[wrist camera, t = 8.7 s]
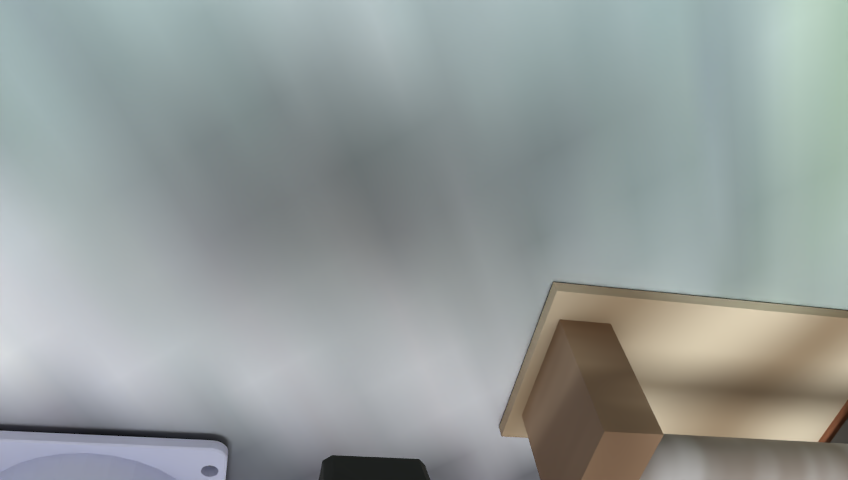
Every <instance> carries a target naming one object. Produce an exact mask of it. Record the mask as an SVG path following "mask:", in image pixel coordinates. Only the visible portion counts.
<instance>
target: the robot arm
mask: <svg viewBox="0 0 848 480" xmlns="http://www.w3.org/2000/svg"><path fill="white" fill-rule="evenodd" d="M227 459H228V448H227V447H226V446H225V445H224V444H223V443H221V442H219V441H214V440H195V439H173V438H152V437H130V436H108V435H86V434H64V433H43V432H21V431H0V480H225V479H226V469H227ZM209 465H211V466H209ZM319 480H430V478H429V475H428V473H427V470H426V467H425V465H424V464H423V463H422V462H421V461H420V460H419V459H403V458H380V457H357V456H334V455H332V456H330V457H328V458H327V459H325V460H323V462H322V467H321V472H320V477H319Z"/></svg>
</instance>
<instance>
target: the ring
mask: <svg viewBox="0 0 848 480" xmlns="http://www.w3.org/2000/svg"><path fill="white" fill-rule="evenodd" d="M830 443H844V444H848V418H847V420H846V421H845V423H844V424H843V425H842V427H841V428H840V429H839V431H838V432H837V434H836V435H835V436H834V438H833V439H832V441H831V442H830Z"/></svg>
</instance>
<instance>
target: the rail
mask: <svg viewBox="0 0 848 480" xmlns="http://www.w3.org/2000/svg"><path fill="white" fill-rule="evenodd" d="M847 418H848V311H845V310H835V309H825V308H814V307H804V306H794V305H783V304H773V303H763V302H752V301H742V300H732V299H721V298H711V297H701V296H690V295H680V294H670V293H659V292H649V291H639V290H629V289H618V288H608V287H598V286H587V285H577V284H567V283H556V282H553V284H552V287H551V290H550V292H549V295H548V298H547V300H546V303H545V306H544V308H543V311H542V314H541V316H540V319H539V322H538V324H537V327H536V330H535V332H534V335H533V338H532V340H531V343H530V346H529V348H528V351H527V354H526V356H525V359H524V362H523V364H522V367H521V370H520V372H519V375H518V378H517V380H516V383H515V386H514V388H513V391H512V394H511V396H510V399H509V402H508V404H507V407H506V410H505V412H504V415H503V418H502V420H501V423H500V426H499V428H500V432H501V436H505V437H525V438H529V442H530V445H531V449H532V452H533V455H534V459H535V462H536V466H537V469H538V472H539V476H540V479H541V480H848V444H844V443H830V442H831V441H832V439H833V438H834V436H835V435H836V434H837V432H838V431H839V429H840V428H841V427H842V425H843V424H844V423H845V421H846V420H847Z"/></svg>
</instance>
